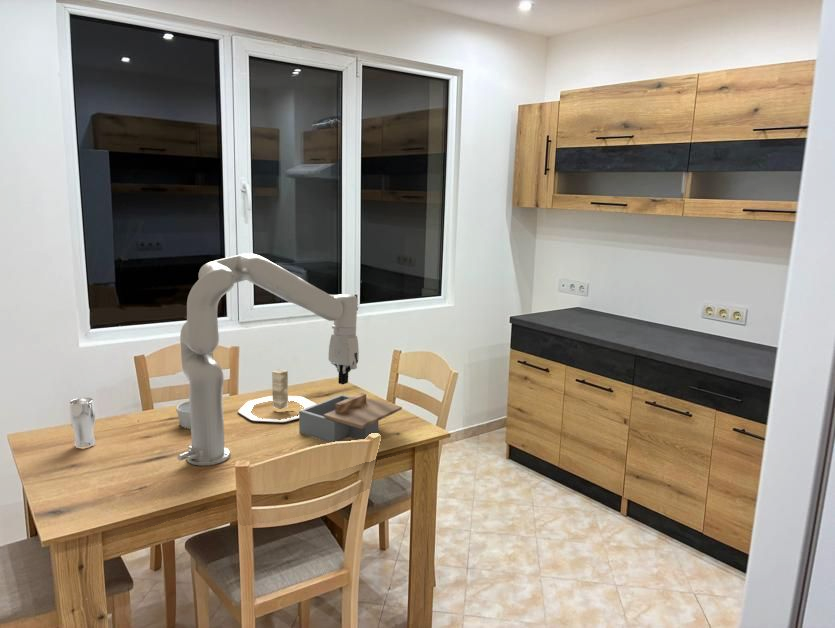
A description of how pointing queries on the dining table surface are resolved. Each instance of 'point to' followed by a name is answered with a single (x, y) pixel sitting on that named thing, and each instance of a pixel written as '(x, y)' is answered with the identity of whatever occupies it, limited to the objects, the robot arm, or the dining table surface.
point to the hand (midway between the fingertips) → (343, 383)
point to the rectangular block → (280, 388)
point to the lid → (361, 411)
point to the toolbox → (330, 423)
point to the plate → (249, 405)
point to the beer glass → (83, 421)
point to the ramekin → (184, 414)
